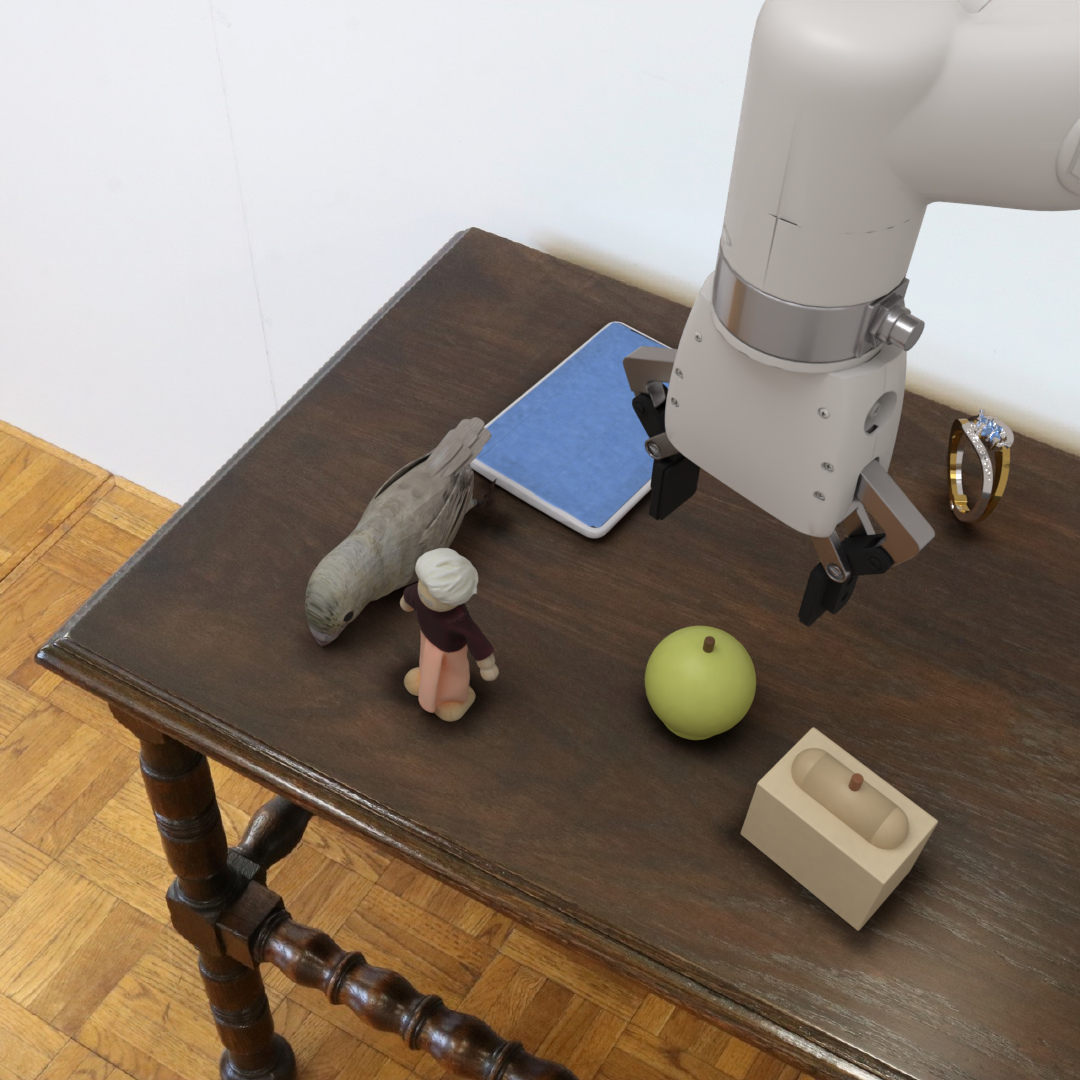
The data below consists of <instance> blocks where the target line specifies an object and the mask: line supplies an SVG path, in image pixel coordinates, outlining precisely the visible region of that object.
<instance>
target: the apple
mask: <svg viewBox="0 0 1080 1080" xmlns="http://www.w3.org/2000/svg"><path fill="white" fill-rule="evenodd" d="M644 688H645V695H646V697H647V701H648V704H649V705H650V707H651V710H653V712H654V714H655V715H656V716H657V717H658V719H659V720H660V721H661V722H662V723H663V724H664V725H665V727H666V728H667V729H668V730H669V731H670V732H671V733H673V734H675V735H676V736H678V737H680V738H682V739H686V740H691V741H701V740H707V739H709V738H712V737H714V736H717V735H720V734H722V733H725V732H727V731H729V730H731V729H732V728H734V727H735V726H736V725H738V723H740V722H741V721H742V720H743V718H745V716H746V715H747V714H748V712H749V710H750V708H751V706H752V704H753V702H754V699H755V695H756V690H757V673H756V670H755V665H754V662H753V660H752V658H751V656H750V654H749V652H748V651H747V649H746V648H745V646H744V645H743V644H742V643H741V642H740V641H739V640H738V639H737V638H736V637H734V636H733V635H731V634H730V633H729V632H726V631H725V630H722V629H720V628H717V627H714V626H709V625H691V626H686V627H683V628H680V629H678V630H677V629H676V630H675V631H673V632H672V633H670V634H668V635H667V636H665V637H664V638H663V639H662V640H661V641H660V642H659V643H658V644H657V645H656V646H655V647H654V649H653V651H652V652H651V655H650V656H649V658H648V661H647V664H646V667H645V672H644Z"/></svg>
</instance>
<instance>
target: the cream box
mask: <svg viewBox="0 0 1080 1080" xmlns="http://www.w3.org/2000/svg"><path fill="white" fill-rule="evenodd" d="M754 789H755V790H754V792H753V795H752V798H751V801H750V804H749V807H748V810H747V812H746V816H745V819H744V822H743V824H742V827H741V829H740V835H741V836H742V837H743V838H744V839H746V840H747V841H748V842H749V843H750V844H752V845H753V846H754V847H755V848H756V849H758V850H759V851H760V852H762V854H764V855H765V856H766V857H768V858H769V859H770V860H771V861H773V863H774V864H776V865H777V866H778V867H780V868H781V869H782V870H783V871H785V873H787V874H788V875H789V876H790V877H792V878H793V879H794V880H795V881H796V882H798V884H800V885H801V886H803V887H804V888H805V889H806V890H808V891H809V893H811V894H812V895H814V896H815V897H816V898H817V899H818V900H820V901H821V902H822V903H823V904H824V905H825V906H827V907H828V908H829V909H831V910H832V911H833V912H834V913H835V914H836V915H838V916H839V917H840V918H841V919H843V920H844V921H845V922H846V923H847V924H849V925H850V926H851V927H852V928H853V929H855V930H856V931H857V932H859V931H860V930H861V929H863V927H864V926H865V925H866V924H867V923H868V921H869V920H870V919H871V918H872V917H873V915H874V914H875V913H876V912H877V910H878V909H880V907H881V906H882V905H883V903H884V902H885V901H886V900H887V899H888V898H889V896H891V894H892V893H893V892H894V890H895V889H896V888H897V887H898V886H899V885H900V883H901V882H902V881H903V880H904V879H905V878H906V876H907V875H908V874H909V873H910V872H911V870H912V868H913V867H914V865H915V863H916V862H917V860H918V858H919V856H920V855H921V853H922V851H923V850H924V847H925V846H926V844H927V842H928V840H929V839H930V838H931V836H932V834H933V832H934V830H935V828H936V826H937V825H938V823H939V821H938V819H936V818H935V817H934V816H932V815H931V814H929V813H928V812H927V811H926V810H924V809H923V808H922V807H920V806H919V805H918V804H916V803H915V802H914V801H913V800H911V799H910V798H908V797H907V796H906V795H904V794H903V793H901V792H900V791H899V790H898V789H897V788H896V787H894V786H893V785H891V784H890V783H889V782H887V781H886V780H884V779H883V778H882V777H880V776H879V775H878V774H877V773H875V772H874V771H873V770H871V769H870V768H869V767H868V766H866V765H864V764H863V763H862V762H861V761H860V760H858V759H857V758H856V757H854V756H852V755H851V753H849V752H848V751H846V750H845V749H843V748H842V747H841V746H839V745H838V744H837V743H835V741H833V740H831V738H829V737H827V736H826V735H825V734H824V733H822V732H821V731H820V730H818V729H817V728H816V727H813V726H812V727H811V728H810V729H809V730H808V731H807V732H806V733H805V734H804V735H803V736H802V737H801V738H800V739H799V740H798V741H797V742H796V743H795V745H793V746H792V747H791V748H790V749H789V750H788V751H787V752H786V753H785V754H784V755H783V756H782V757H781V758H780V759H779V760H778V761H777V762H776V764H774V765H773V767H771V768H770V769H769V770H768V771H767V772H766V773H765V774H764V776H763V777H761V778H760V779H759V780H758V782H757V784H756V786H755V788H754Z"/></svg>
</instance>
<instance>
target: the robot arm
mask: <svg viewBox="0 0 1080 1080" xmlns="http://www.w3.org/2000/svg"><path fill="white" fill-rule="evenodd" d="M755 21H756V22H755V26H754V30H753V34H752V39H751V42H750V43H751V44H750V50H749V57H748V63H747V69H746V75H745V83H744V89H743V95H742V102H741V109H740V114H739V120H738V121H739V122H738V128H737V135H736V141H735V146H734V152H733V158H732V159H733V160H732V165H731V171H730V178H729V185H728V191H727V197H726V203H725V209H724V216H723V217H724V218H723V222H722V229H721V233H720V238H719V244H718V251H717V257H716V263H715V268H714V270H713V271H712V272H711V273H710V274H708V276H707V277H706V279H705V280H704V281H703V283H702V286H701V288H700V290H699V292H698V293H697V296H696V298H695V300H694V303H693V305H692V307H691V310H690V312H689V314H688V318H687V319H686V322H685V325H684V328H683V331H682V333H681V337H680V339H679V344H678V345H677V346H678V347H677V348H672V349H670V348H671V347H670V348H659V347H648V346H641V347H639V348H638V349H636V350H635V351H634V352H632V353H631V354H629V355H628V356H626V357H625V358H624V359H623V366H624V370H625V373H626V376H627V379H628V383H629V386H630V389H631V391H633V392H634V395H635V398H633V400H632V407H633V409H634V411H635V413H636V415H637V416H638V418H639V420H640V422H641V424H642V426H643V427H644V429H645V431H646V433H647V435H648V437H649V439H647V440H646V441H645V449H646V451H647V453H648V454H649V456H651V457H652V458H653V459H654V462H653V469H652V477H651V484H650V487H651V488H652V489H651V493H650V502H649V508H648V515H649V516H650V517H652V518H653V519H654V520H656V521H660V520H661V521H663V520H664V519H666V518H667V517H669V515H671V514H672V513H673V512H674V511H676V510H677V509H678V508H679V507H680V506H682V505H683V504H685V503H686V502H687V501H688V500H689V499H691V498H692V497H693V496H694V495H695V494H696V492H697V489H698V484H699V478H700V472H701V469H702V470H703V471H705V472H706V473H707V474H709V475H711V476H712V477H714V478H715V479H717V480H718V481H720V482H721V483H723V484H724V485H725V486H727V487H728V488H730V489H732V490H733V491H734V492H736V493H737V494H738V495H740V496H742V498H743V497H744V498H745V499H747V500H748V501H749V502H751V503H752V504H754V505H755V506H757V507H758V508H760V509H761V510H763V511H764V512H766V513H768V514H769V515H771V516H772V517H774V518H775V519H777V520H778V521H780V522H782V523H783V524H785V525H786V526H788V527H790V528H791V529H793V530H795V531H797V532H799V533H802V534H805V535H807V536H809V539H810V541H811V543H812V546H813V548H814V550H815V553H816V554H817V557H818V560H819V562H818V563H817V564H816V565H815V566H814V567H813V568H812V569H811V571H810V573H809V576H808V579H807V583H806V586H805V589H804V593H803V597H802V600H801V602H800V606H799V610H798V614H797V617H798V618H799V622H800V623H802V624H803V625H804V626H806V627H807V628H809V627H811V626H813V624H814V623H815V622H816V621H817V620H819V619H820V617H822V615H824V614H825V613H826V612H827V611H828V612H829V613H830V614H832V615H837V613H839V612H840V611H841V610H842V609H843V608H844V607H845V606H846V605H847V603H848V602H849V601H850V599H851V598H852V595H853V593H854V590H855V587H856V584H857V582H858V580H859V579H858V578H859V576H869V575H870V576H871V575H882V574H886V572H888V571H889V570H890V569H892V568H893V567H896V566H899V565H901V564H902V563H904V562H907V561H909V560H911V559H912V558H914V557H917V556H918V555H919V554H920V553H921V552H922V551H923V550H924V549H925V548H926V547H928V545H929V544H930V543H931V542H932V541H933V540H934V539H935V538H936V532H935V530H934V528H933V527H932V525H931V524H930V523H929V522H928V521H927V519H926V518H925V517H924V516H923V515H922V513H921V511H919V509H918V508H917V507H916V506H915V505H914V503H913V502H912V501H911V500H910V499H909V497H908V496H907V495H906V494H905V492H904V491H903V489H901V488H900V486H899V485H898V484H897V483H896V482H895V480H894V479H893V477H891V475H890V474H889V473H888V472H889V468H890V465H891V461H892V457H893V453H894V448H895V446H896V445H895V444H896V440H897V436H898V430H899V426H900V421H901V415H902V410H903V404H904V399H905V398H904V397H905V391H906V390H905V389H906V379H907V358H908V356H907V355H908V353H907V352H909V351H910V350H912V349H913V348H914V346H915V345H916V344H917V342H918V341H919V340H920V338H921V336H922V335H923V332H924V329H925V324H926V323H925V321H924V320H923V319H920V318H919V317H917V316H915V315H913V314H912V311H911V309H910V308H908V307H906V303H905V297H906V294H907V291H908V287H909V284H910V282H911V281H910V280H911V279H909V278H907V274H908V271H909V267H910V264H911V260H912V258H913V254H914V251H915V249H916V245H917V241H918V238H919V234H920V232H921V228H922V225H923V221H924V218H925V215H926V211H927V208H928V206H929V205H931V204H933V203H938V202H939V203H950V204H961V205H970V206H971V205H972V206H983V207H991V208H1001V209H1012V210H1020V211H1031V212H1033V211H1034V212H1067V211H1068V212H1071V211H1079V210H1080V0H764V2H763V3H762V6H761V8H760V10H759V12H758V15H757V18H756V20H755ZM663 382H665V383H669V388H667V387H666V386H665V385H664V384H663ZM868 513H869V515H870V516H871V517H872V518H873V519H874V521H875V522H876V523H877V525H879V526H880V528H881V529H882V530H883V533H876V532H875V529H874V527H873V525H872V522H871V520H870V517H869V515H868ZM841 523H842V525H843V526H842V527H843V528H844V531H845V532H846V535H847V537H844V539H842V540H840V537H839V535H838V533H837V531H836V528H837V527H838V526H839V525H840V524H841Z"/></svg>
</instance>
